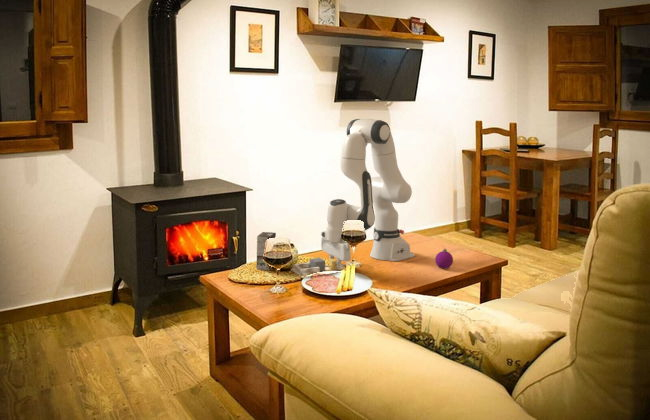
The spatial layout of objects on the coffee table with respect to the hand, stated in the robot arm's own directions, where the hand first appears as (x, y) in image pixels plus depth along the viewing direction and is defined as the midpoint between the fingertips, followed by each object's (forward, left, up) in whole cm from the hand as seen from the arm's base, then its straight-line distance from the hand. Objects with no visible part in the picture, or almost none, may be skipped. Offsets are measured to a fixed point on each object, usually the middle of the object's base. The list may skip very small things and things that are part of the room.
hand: (335, 265), depth 274 cm
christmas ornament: (-49, +18, -3) cm, 52 cm away
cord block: (+6, 0, -1) cm, 6 cm away
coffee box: (+28, -14, -3) cm, 31 cm away
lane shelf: (+7, 0, -2) cm, 7 cm away
